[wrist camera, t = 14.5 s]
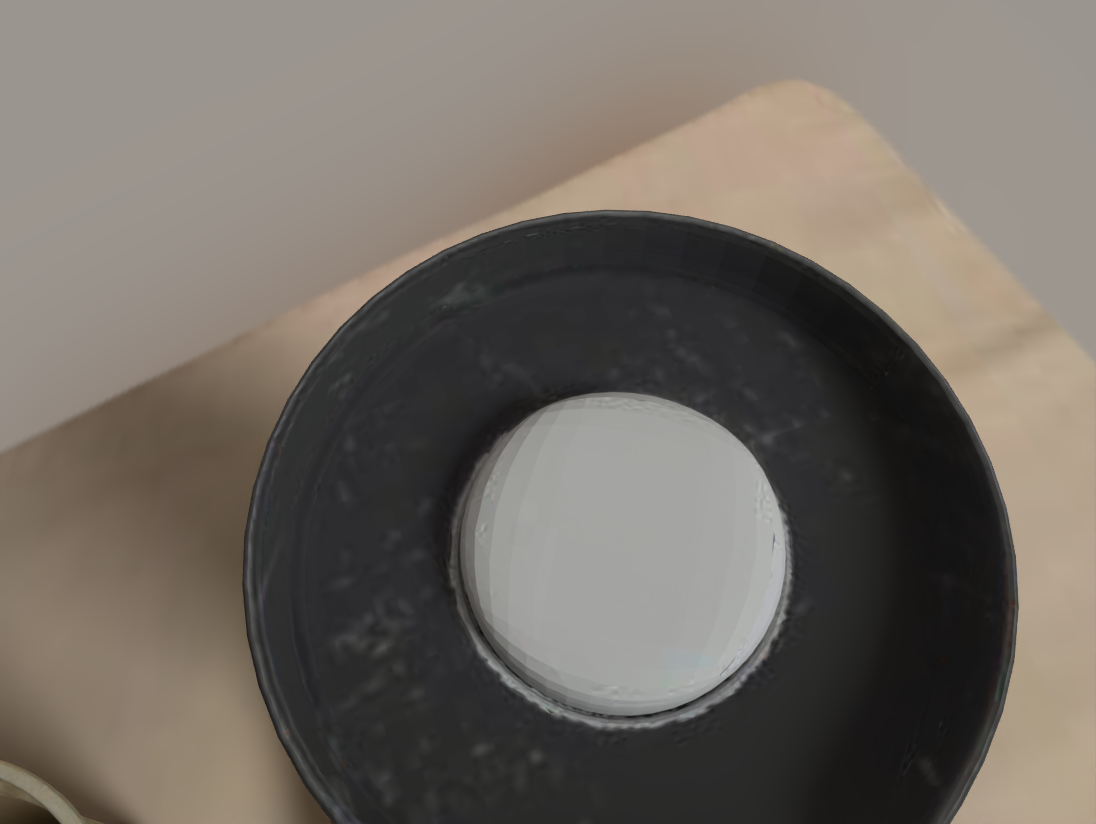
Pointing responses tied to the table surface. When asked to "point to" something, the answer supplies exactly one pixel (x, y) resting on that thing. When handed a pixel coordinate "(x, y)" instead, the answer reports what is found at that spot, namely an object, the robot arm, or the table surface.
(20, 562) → the table surface
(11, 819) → the flower pot
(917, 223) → the table surface
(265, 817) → the table surface
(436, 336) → the travel mug
